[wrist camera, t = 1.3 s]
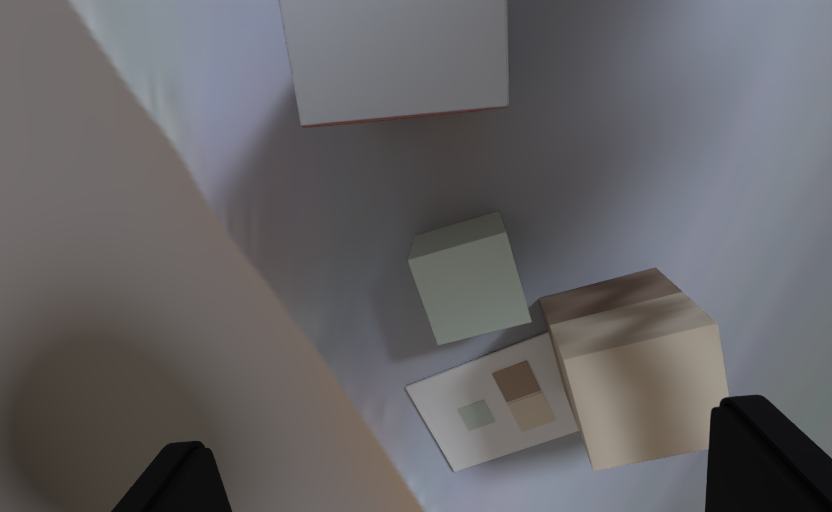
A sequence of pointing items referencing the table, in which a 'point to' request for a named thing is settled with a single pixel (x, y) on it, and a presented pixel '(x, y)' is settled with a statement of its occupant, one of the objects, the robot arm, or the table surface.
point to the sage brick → (468, 279)
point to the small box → (395, 58)
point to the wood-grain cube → (636, 367)
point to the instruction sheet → (496, 403)
